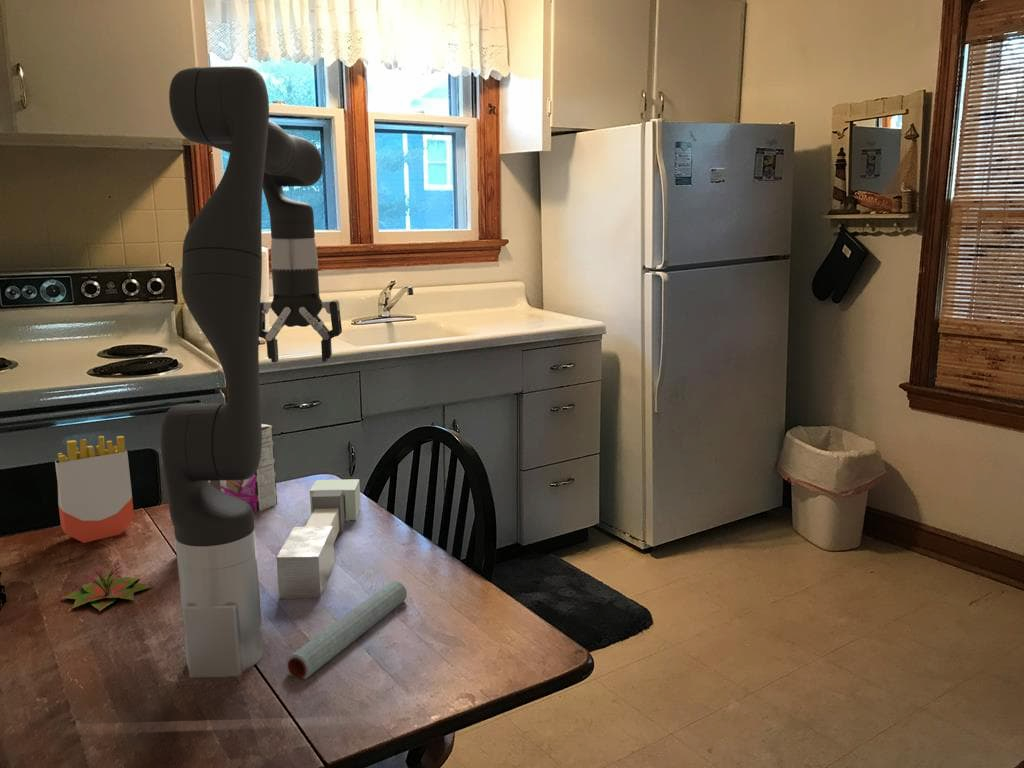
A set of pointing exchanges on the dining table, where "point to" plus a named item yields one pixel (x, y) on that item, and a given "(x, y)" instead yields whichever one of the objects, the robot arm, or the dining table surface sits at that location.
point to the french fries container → (94, 490)
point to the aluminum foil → (345, 631)
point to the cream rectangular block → (305, 562)
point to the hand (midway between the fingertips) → (300, 361)
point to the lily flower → (106, 590)
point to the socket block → (349, 494)
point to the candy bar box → (257, 478)
